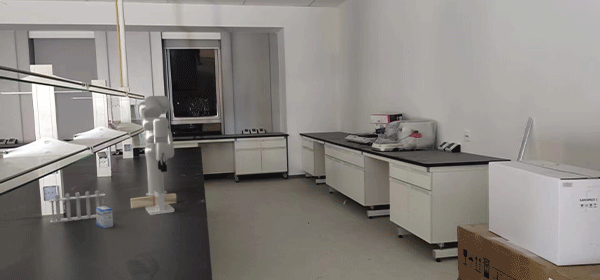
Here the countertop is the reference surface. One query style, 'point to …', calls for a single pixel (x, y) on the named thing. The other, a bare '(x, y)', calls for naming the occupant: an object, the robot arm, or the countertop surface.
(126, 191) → the countertop surface
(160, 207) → the ridge stand
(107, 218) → the medicine box
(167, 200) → the pine beam
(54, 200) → the grey picket fence
